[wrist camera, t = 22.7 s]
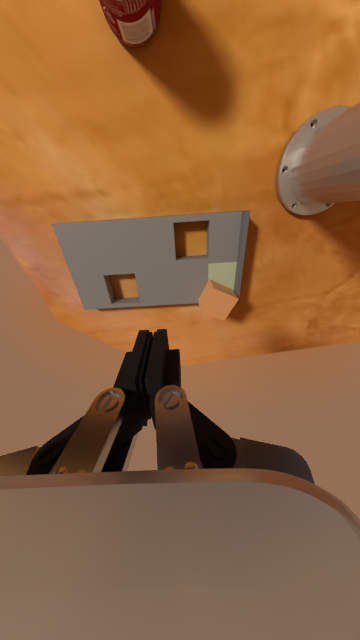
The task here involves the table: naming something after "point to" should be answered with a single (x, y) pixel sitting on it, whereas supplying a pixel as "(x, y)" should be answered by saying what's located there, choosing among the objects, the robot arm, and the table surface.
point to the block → (217, 300)
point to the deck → (152, 258)
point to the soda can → (132, 19)
